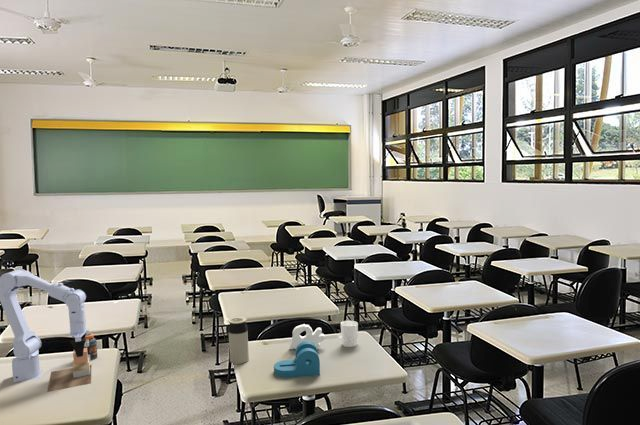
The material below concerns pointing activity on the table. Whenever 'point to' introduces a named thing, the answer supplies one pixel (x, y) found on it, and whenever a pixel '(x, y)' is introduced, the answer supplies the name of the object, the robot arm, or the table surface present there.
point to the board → (66, 380)
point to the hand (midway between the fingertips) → (80, 353)
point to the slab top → (80, 366)
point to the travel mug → (238, 340)
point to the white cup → (349, 333)
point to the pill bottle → (91, 346)
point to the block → (80, 359)
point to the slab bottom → (81, 373)
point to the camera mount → (300, 362)
